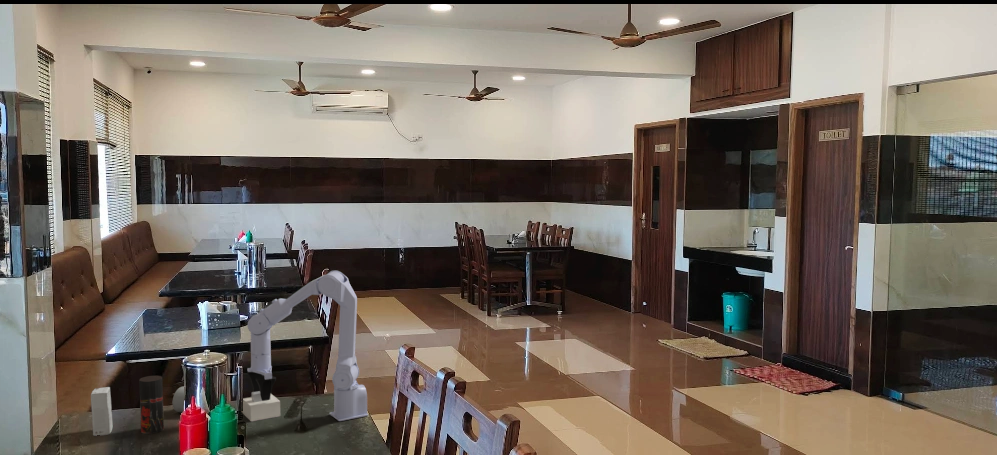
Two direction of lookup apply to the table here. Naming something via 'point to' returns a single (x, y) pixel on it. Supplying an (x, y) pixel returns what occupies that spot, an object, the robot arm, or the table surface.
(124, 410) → the table surface
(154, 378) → the deodorant
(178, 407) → the grey rounded block
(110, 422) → the skincare box
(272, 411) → the white box with knob
